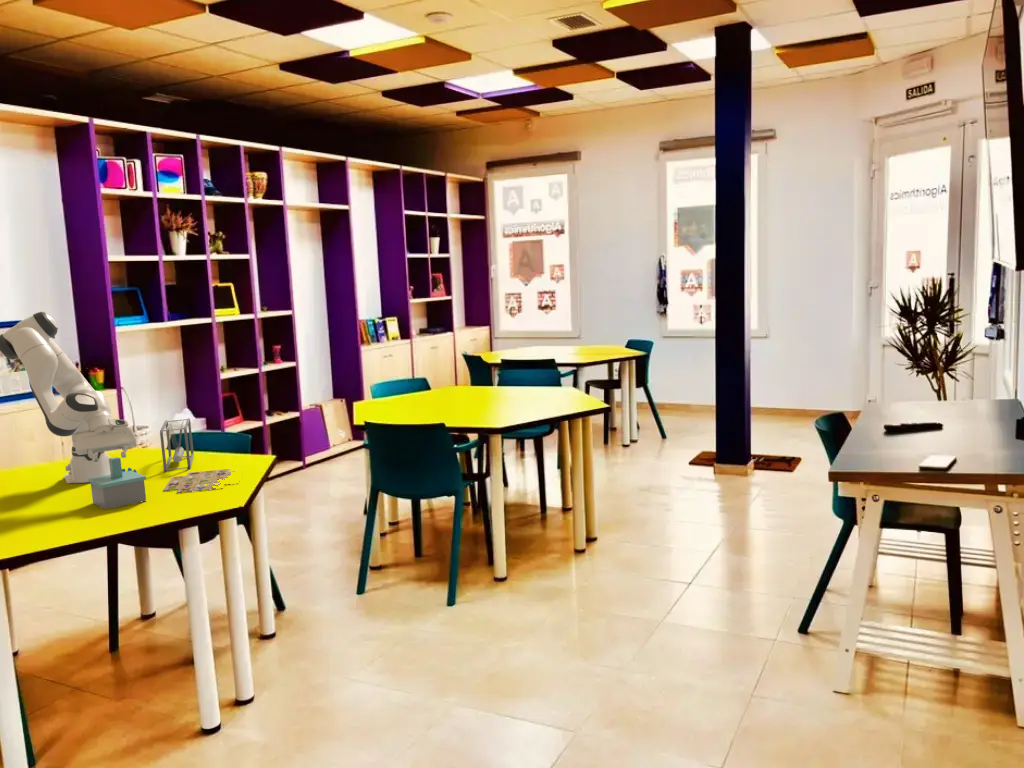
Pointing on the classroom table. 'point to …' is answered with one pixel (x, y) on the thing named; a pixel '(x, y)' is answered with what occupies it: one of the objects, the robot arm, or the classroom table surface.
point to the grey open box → (118, 494)
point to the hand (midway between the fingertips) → (110, 458)
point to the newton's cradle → (179, 450)
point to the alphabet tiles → (197, 481)
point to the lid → (116, 475)
